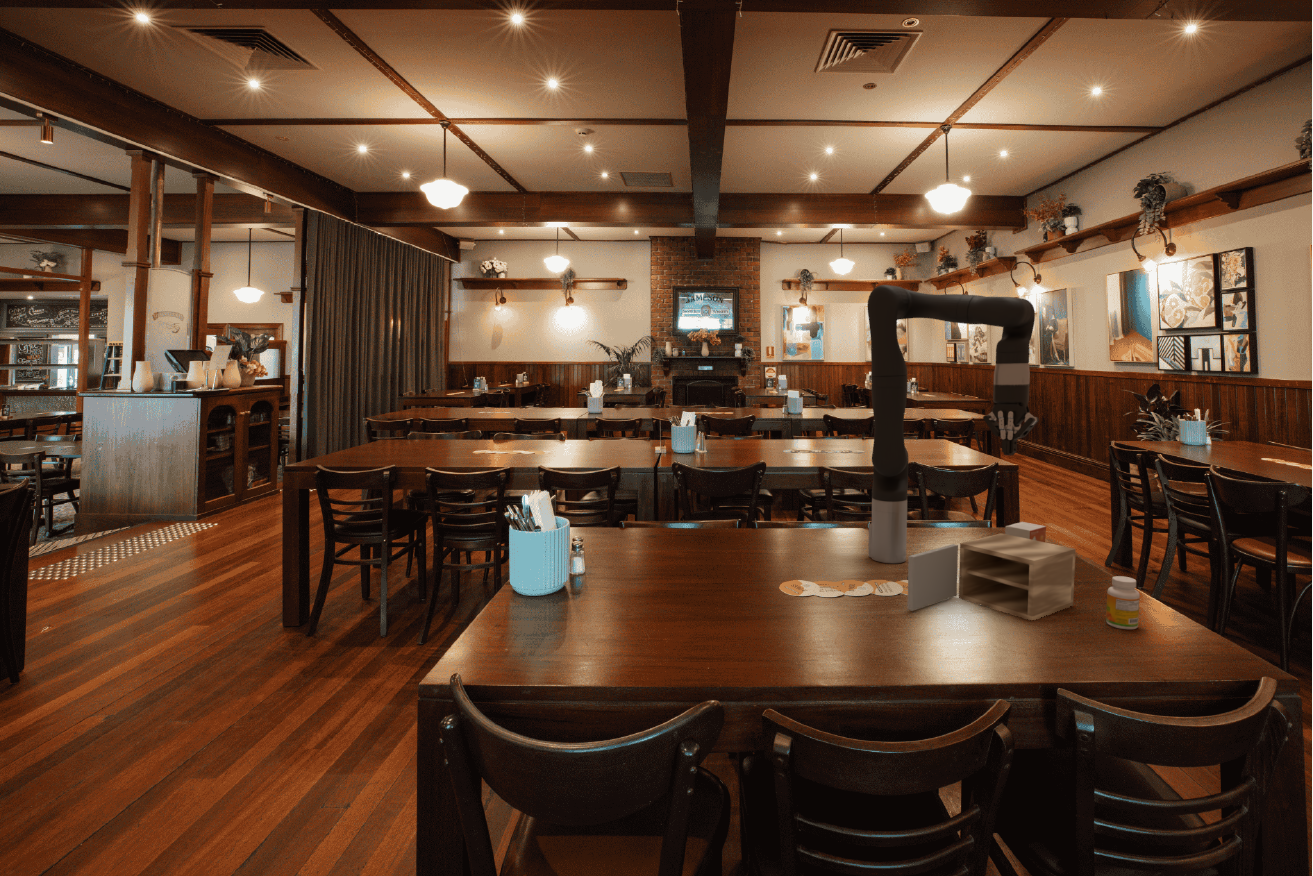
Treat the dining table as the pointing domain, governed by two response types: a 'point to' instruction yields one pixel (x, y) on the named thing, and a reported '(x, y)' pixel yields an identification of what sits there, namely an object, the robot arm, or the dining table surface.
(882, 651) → the dining table surface
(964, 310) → the robot arm
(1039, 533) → the small box
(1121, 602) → the supplement bottle
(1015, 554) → the cabinet
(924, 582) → the door
